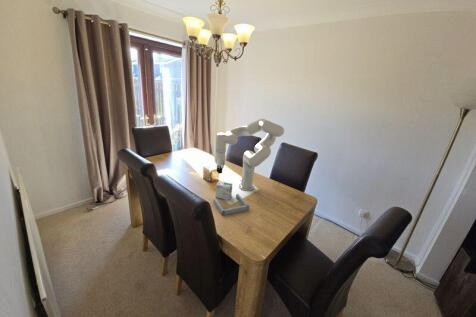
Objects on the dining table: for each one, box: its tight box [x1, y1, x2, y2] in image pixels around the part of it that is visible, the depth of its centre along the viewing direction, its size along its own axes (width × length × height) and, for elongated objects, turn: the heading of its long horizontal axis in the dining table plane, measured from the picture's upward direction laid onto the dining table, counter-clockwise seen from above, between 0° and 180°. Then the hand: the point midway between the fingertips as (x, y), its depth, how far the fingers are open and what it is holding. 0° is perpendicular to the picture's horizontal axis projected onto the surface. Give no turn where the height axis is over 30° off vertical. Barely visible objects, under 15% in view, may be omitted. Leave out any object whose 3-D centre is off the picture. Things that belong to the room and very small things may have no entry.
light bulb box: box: [215, 180, 233, 200], centre depth 151 cm, size 11×7×11 cm, turn 74°
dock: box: [212, 193, 250, 216], centre depth 141 cm, size 17×20×3 cm
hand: (219, 172), depth 157 cm, fingers closed
